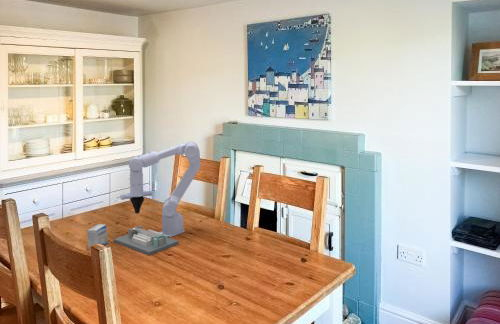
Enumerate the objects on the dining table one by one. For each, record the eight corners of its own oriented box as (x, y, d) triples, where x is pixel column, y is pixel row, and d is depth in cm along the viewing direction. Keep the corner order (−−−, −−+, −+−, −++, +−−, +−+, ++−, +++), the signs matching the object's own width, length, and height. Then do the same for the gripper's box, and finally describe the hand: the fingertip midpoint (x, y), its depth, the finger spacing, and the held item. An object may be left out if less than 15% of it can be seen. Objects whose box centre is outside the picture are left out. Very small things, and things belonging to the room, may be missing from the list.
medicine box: (97, 250, 179) (96, 230, 177) (88, 249, 180) (86, 229, 178) (107, 243, 187) (106, 224, 185) (98, 242, 188) (97, 223, 186)
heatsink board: (143, 232, 201) (142, 220, 200) (178, 244, 186) (178, 231, 185) (113, 242, 188) (113, 229, 187) (149, 255, 174) (148, 242, 173)
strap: (131, 230, 190) (131, 228, 189) (137, 228, 192) (137, 226, 192) (157, 240, 179) (156, 237, 179) (163, 237, 182) (163, 234, 182)
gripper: (124, 187, 186) (125, 217, 188) (155, 183, 195) (155, 212, 197) (118, 184, 191) (119, 213, 194) (148, 180, 200) (149, 208, 202)
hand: (137, 212), depth 196 cm, fingers closed
